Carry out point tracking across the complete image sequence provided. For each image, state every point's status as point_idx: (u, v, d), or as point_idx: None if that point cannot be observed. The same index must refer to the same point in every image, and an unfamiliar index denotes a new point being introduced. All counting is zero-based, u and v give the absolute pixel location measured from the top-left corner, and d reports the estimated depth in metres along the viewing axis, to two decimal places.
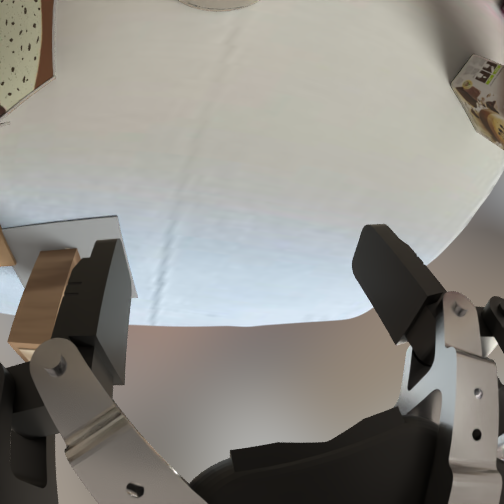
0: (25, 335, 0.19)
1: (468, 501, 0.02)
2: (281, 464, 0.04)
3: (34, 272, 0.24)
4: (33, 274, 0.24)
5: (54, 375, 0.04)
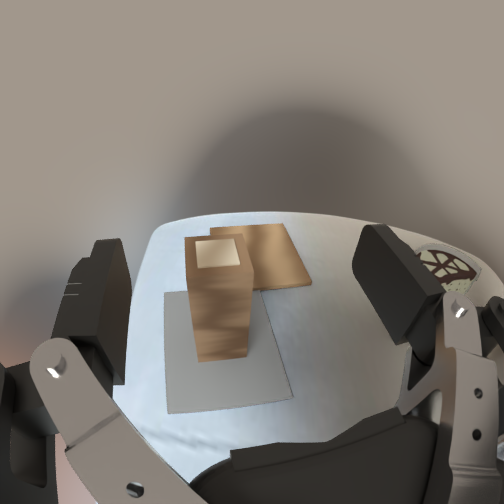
0: None
1: (468, 501, 0.02)
2: (281, 464, 0.04)
3: None
4: None
5: (54, 375, 0.04)
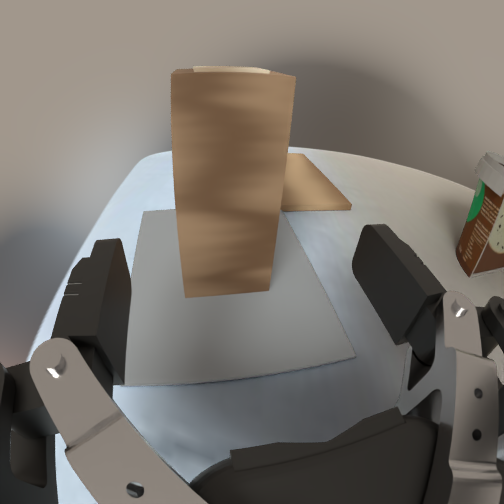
0: None
1: (468, 501, 0.02)
2: (281, 464, 0.04)
3: None
4: None
5: (54, 375, 0.04)
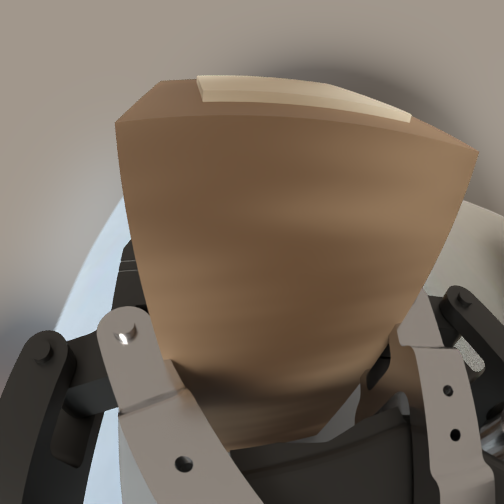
0: None
1: (468, 501, 0.02)
2: (281, 464, 0.04)
3: None
4: None
5: (128, 341, 0.05)
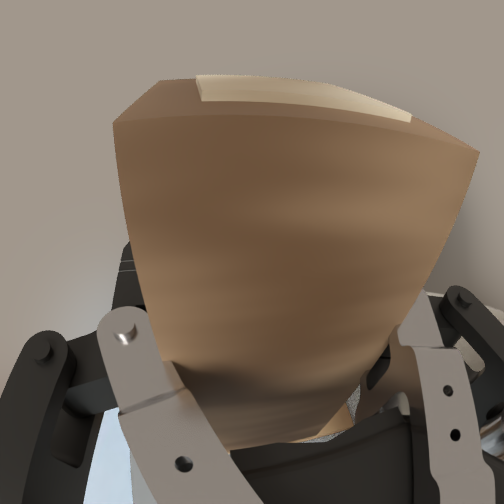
0: None
1: (468, 501, 0.02)
2: (281, 464, 0.04)
3: None
4: None
5: (127, 341, 0.05)
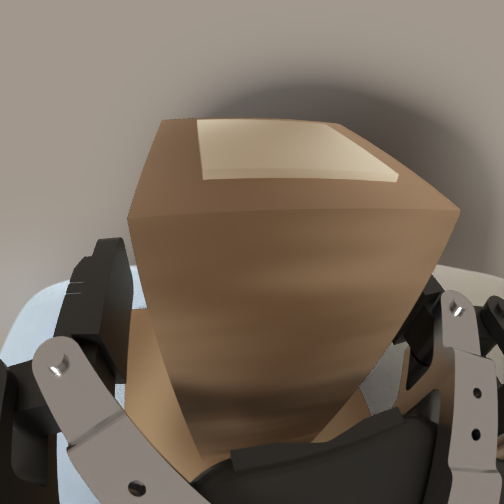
0: None
1: (468, 501, 0.02)
2: (281, 464, 0.04)
3: None
4: None
5: (57, 373, 0.04)
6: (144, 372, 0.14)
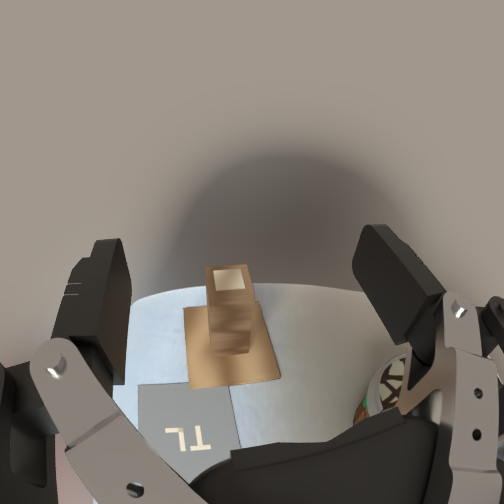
0: None
1: (468, 501, 0.02)
2: (281, 464, 0.04)
3: None
4: None
5: (54, 375, 0.04)
6: (192, 330, 0.42)
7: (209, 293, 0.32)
